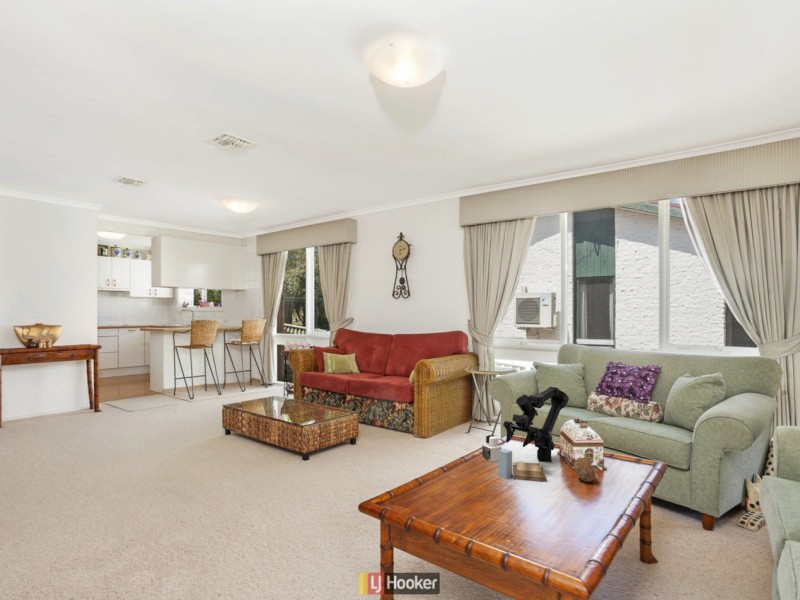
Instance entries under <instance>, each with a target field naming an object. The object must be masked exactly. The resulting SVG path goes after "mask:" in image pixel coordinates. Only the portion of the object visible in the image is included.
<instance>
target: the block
mask: <svg viewBox="0 0 800 600" xmlns="http://www.w3.org/2000/svg"><path fill="white" fill-rule="evenodd" d="M497 462H498V473H497V474H498V477H499V478H502V479H505V480H508V479H511V478H512V477H513V450H510V449H508V448H507V449H506V448H503V449H502V448H501V450H499V451H498V461H497Z"/></svg>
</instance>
